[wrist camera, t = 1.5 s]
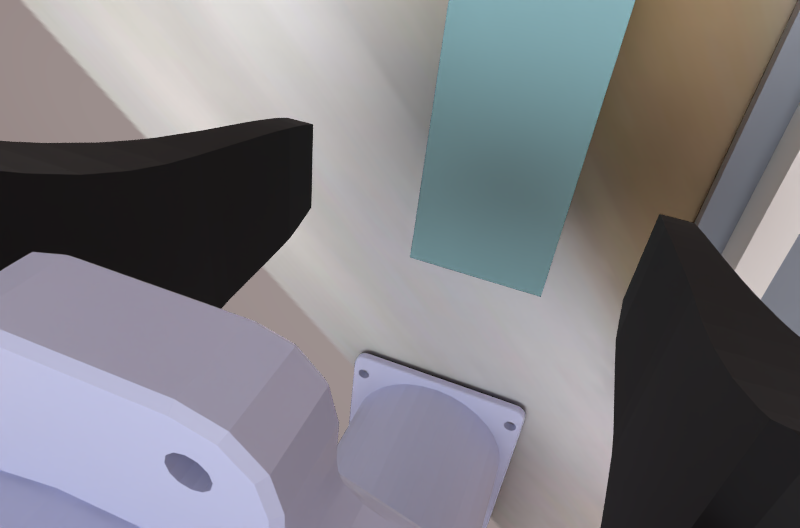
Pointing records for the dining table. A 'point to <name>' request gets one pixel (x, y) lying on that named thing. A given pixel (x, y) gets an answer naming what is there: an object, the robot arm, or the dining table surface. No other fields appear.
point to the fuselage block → (512, 132)
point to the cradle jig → (764, 187)
